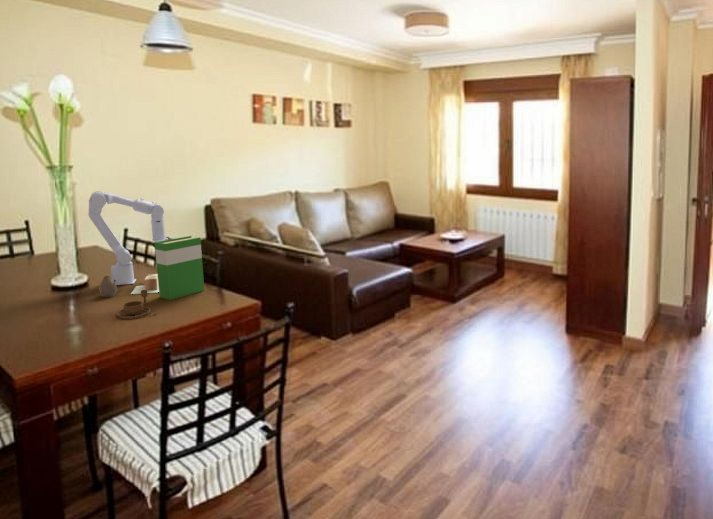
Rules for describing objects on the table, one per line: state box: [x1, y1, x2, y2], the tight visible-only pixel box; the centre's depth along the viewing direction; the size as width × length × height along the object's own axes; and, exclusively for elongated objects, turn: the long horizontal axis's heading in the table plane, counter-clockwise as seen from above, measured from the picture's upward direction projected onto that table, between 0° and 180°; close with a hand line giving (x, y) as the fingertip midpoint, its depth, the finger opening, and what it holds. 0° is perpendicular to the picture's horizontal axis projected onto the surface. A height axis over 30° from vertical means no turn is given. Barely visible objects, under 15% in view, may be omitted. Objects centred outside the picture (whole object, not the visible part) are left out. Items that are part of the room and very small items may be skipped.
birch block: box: [144, 273, 159, 290], centre depth 248 cm, size 5×5×10 cm
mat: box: [130, 284, 159, 295], centre depth 246 cm, size 16×13×1 cm
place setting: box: [117, 290, 157, 320], centre depth 215 cm, size 18×20×6 cm
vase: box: [98, 275, 118, 298], centre depth 236 cm, size 7×7×9 cm
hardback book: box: [154, 235, 205, 301], centre depth 236 cm, size 18×7×24 cm, turn 142°
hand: (160, 257), depth 263 cm, fingers closed
